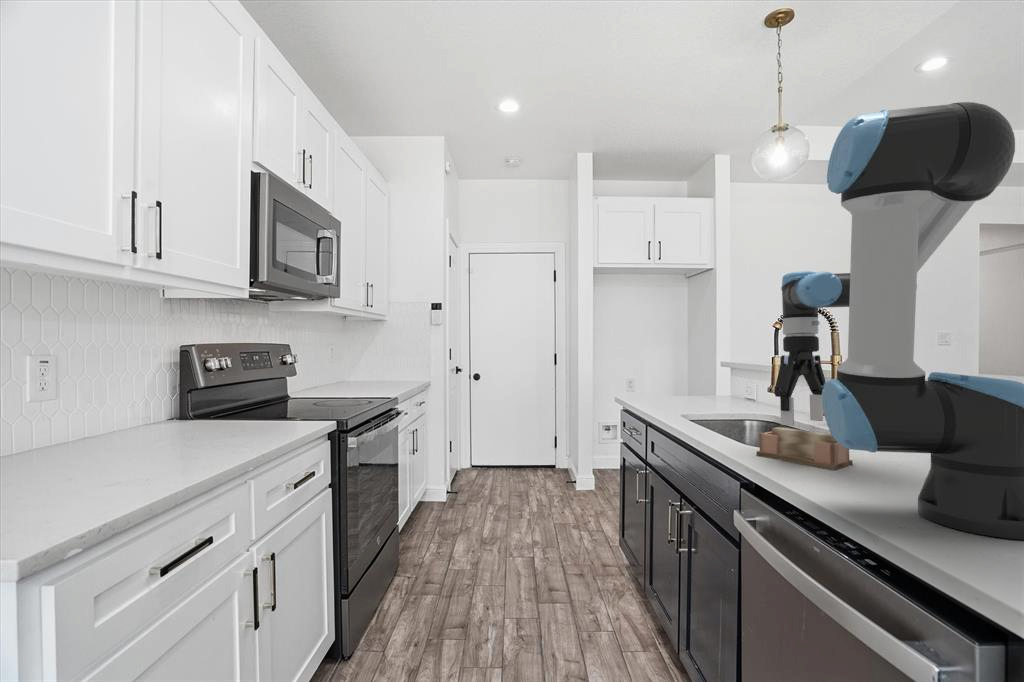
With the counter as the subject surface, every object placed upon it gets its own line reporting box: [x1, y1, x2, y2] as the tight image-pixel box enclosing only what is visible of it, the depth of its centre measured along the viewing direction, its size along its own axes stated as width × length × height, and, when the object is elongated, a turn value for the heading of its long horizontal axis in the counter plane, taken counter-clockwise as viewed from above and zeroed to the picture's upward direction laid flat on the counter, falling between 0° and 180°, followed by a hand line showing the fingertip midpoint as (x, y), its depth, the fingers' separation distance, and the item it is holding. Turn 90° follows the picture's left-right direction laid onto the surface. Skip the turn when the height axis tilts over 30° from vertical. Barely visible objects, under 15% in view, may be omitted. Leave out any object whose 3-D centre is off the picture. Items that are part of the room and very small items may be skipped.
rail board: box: [755, 450, 854, 471], centre depth 119 cm, size 9×18×1 cm, turn 32°
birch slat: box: [771, 426, 838, 459], centre depth 118 cm, size 14×3×6 cm, turn 33°
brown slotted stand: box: [758, 430, 850, 465], centre depth 119 cm, size 7×18×4 cm, turn 32°
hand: (802, 422), depth 118 cm, fingers open, 13 cm apart
